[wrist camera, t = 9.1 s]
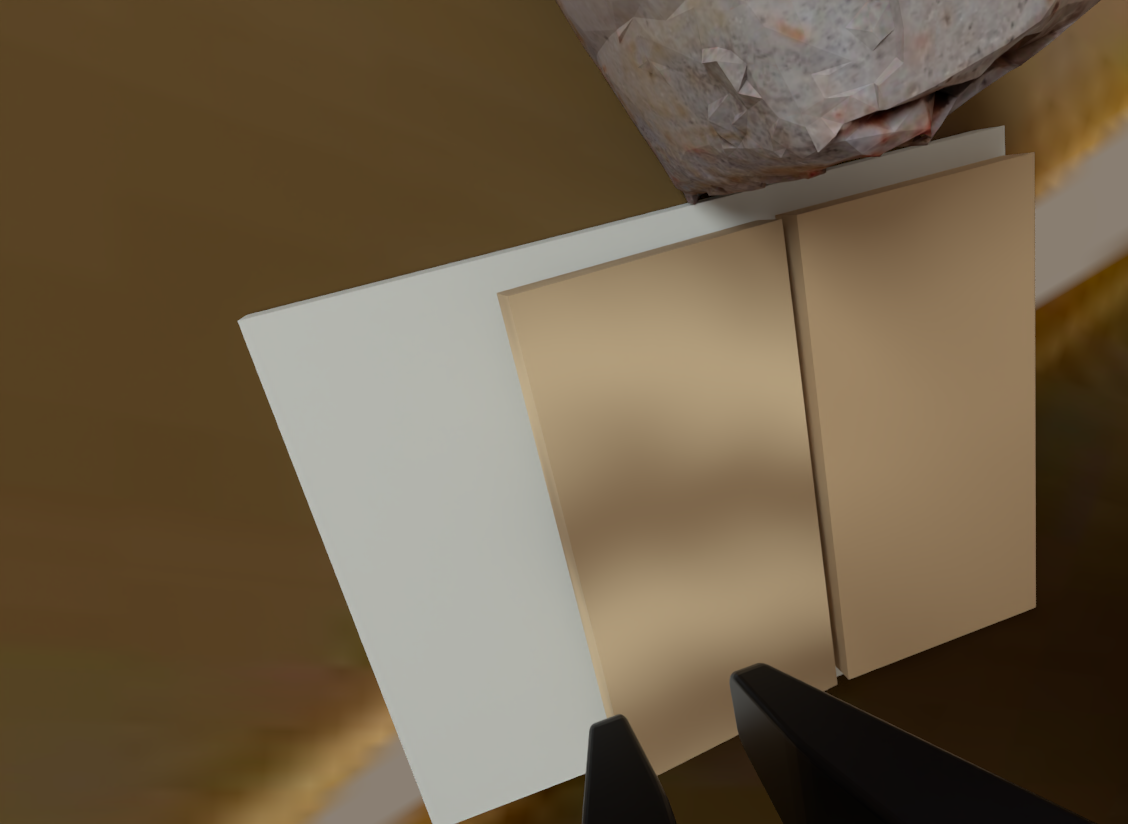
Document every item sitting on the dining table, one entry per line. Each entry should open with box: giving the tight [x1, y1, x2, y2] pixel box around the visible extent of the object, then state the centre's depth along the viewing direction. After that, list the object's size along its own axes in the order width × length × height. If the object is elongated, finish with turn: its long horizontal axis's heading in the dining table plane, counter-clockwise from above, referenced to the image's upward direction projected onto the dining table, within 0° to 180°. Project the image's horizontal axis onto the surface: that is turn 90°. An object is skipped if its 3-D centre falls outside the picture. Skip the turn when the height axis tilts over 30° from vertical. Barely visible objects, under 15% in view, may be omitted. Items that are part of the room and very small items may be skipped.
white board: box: [238, 126, 1036, 824], centre depth 19 cm, size 16×20×2 cm
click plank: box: [497, 219, 837, 775], centre depth 18 cm, size 14×7×1 cm, turn 14°
